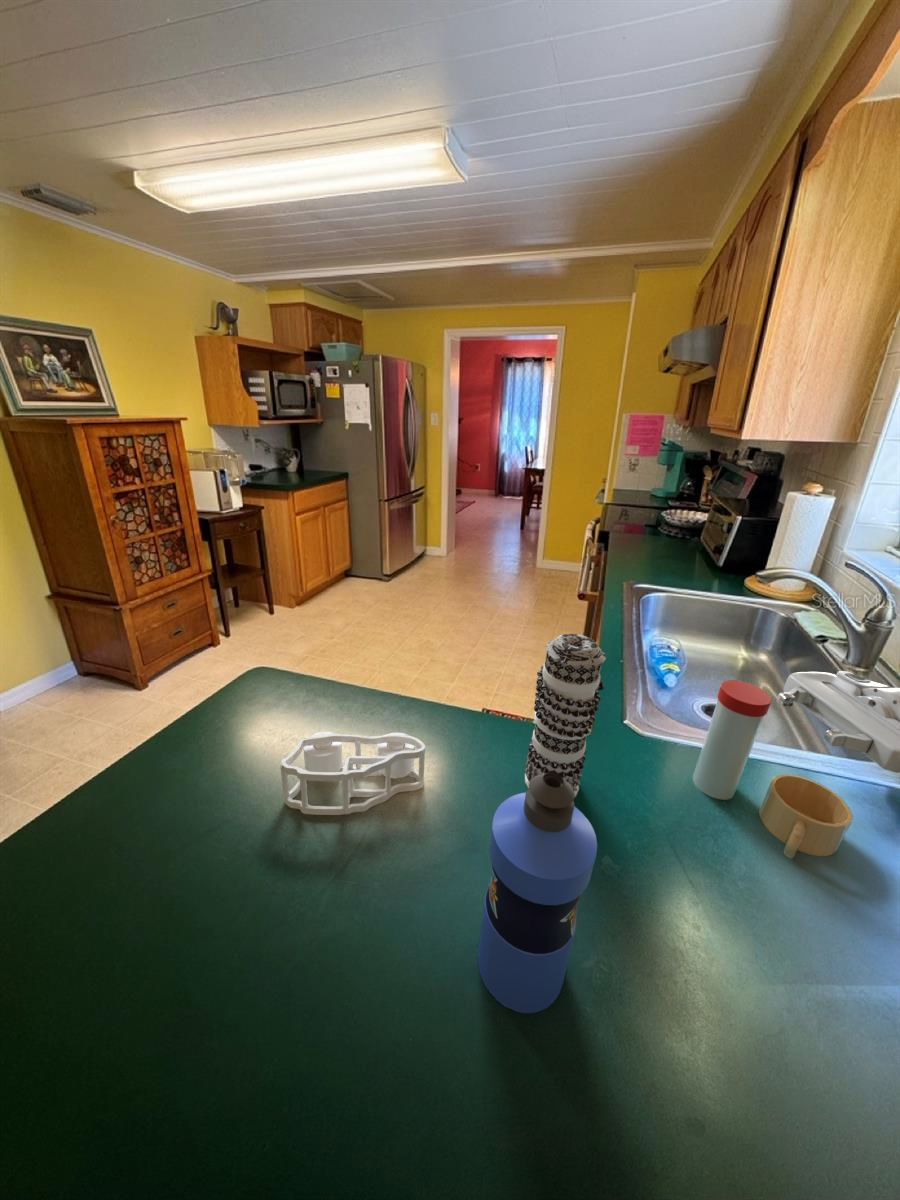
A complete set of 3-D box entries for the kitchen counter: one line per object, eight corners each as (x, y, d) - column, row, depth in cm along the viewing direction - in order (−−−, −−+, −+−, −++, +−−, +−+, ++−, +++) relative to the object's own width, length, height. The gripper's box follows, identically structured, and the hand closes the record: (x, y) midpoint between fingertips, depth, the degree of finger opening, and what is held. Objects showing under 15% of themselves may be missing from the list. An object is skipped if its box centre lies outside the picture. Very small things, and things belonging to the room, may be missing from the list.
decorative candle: (540, 753, 80) (562, 620, 70) (591, 782, 75) (622, 642, 65) (510, 781, 74) (529, 640, 64) (563, 815, 68) (593, 665, 58)
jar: (720, 773, 78) (753, 680, 71) (743, 803, 72) (782, 706, 65) (683, 772, 78) (712, 679, 71) (703, 802, 72) (737, 704, 65)
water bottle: (467, 996, 47) (489, 807, 37) (485, 907, 55) (507, 734, 45) (562, 1029, 45) (612, 838, 35) (567, 932, 53) (608, 756, 43)
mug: (766, 794, 74) (778, 764, 72) (840, 831, 68) (856, 799, 66) (745, 841, 66) (758, 809, 63) (827, 887, 60) (845, 854, 57)
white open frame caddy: (424, 760, 77) (425, 724, 74) (423, 815, 67) (425, 775, 64) (299, 759, 76) (296, 722, 73) (279, 815, 65) (275, 774, 63)
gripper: (946, 782, 65) (855, 784, 63) (824, 696, 83) (752, 696, 82) (968, 745, 62) (874, 747, 61) (837, 665, 81) (763, 665, 80)
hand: (803, 717), depth 72 cm, fingers open, 8 cm apart
